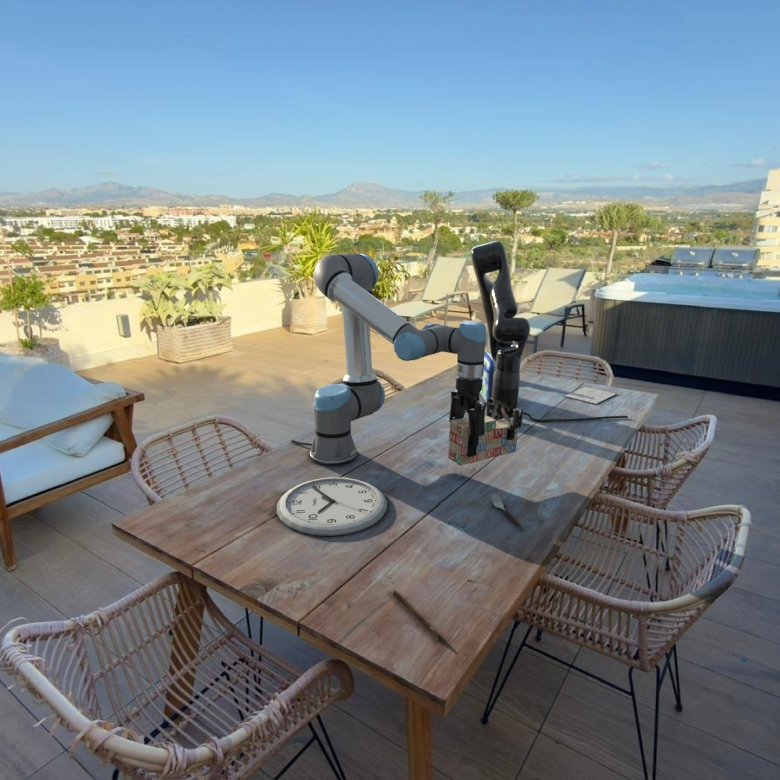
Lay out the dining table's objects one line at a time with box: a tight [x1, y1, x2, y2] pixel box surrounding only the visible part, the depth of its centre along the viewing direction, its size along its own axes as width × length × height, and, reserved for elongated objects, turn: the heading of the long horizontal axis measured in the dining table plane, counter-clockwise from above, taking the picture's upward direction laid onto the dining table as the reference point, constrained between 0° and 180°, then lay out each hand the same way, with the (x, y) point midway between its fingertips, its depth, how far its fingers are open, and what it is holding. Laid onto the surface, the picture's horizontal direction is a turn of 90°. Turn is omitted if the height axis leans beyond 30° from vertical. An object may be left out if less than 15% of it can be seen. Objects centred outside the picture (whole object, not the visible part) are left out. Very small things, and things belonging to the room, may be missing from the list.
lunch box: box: [479, 351, 496, 404], centre depth 230 cm, size 26×11×21 cm, turn 179°
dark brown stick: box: [392, 590, 441, 641], centre depth 102 cm, size 15×1×1 cm, turn 34°
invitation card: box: [564, 386, 616, 405], centre depth 242 cm, size 21×1×15 cm
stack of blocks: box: [448, 414, 519, 467], centre depth 158 cm, size 21×6×12 cm, turn 119°
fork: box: [489, 492, 523, 529], centre depth 139 cm, size 3×16×2 cm, turn 15°
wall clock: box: [276, 476, 388, 537], centre depth 142 cm, size 30×2×30 cm
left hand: (464, 451), depth 155 cm, fingers closed on stack of blocks, 6 cm apart
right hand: (501, 435), depth 161 cm, fingers open, 7 cm apart
